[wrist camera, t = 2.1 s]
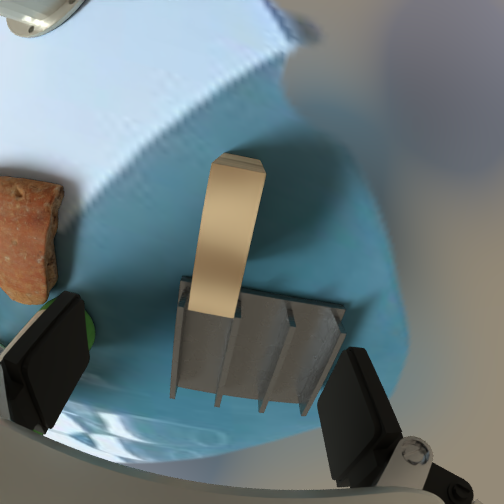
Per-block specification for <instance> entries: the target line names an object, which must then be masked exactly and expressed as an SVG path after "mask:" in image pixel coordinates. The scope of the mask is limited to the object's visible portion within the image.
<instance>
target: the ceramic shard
mask: <svg viewBox="0 0 504 504" xmlns="http://www.w3.org/2000/svg"><path fill="white" fill-rule="evenodd" d="M63 197H64V191H63V186H61V185H59V184H54V183H48V182H43V181H37V180H32V179H25V178H14V177H9V176H0V287H1V288H2V290H4V291H5V293H7V295H8V296H9V297H10V298H11V299H12V300H15V301H17V302H19V303H22V304H28V305H32V304H34V305H39V304H43V303H45V302H46V301H47V299H48V297H49V292H50V290H51V289H52V288H53V287H54V285H55V283H56V282H57V279H58V273H57V264H56V256H55V249H54V236H55V234H56V232H57V227H58V209H59V207H60V205H61V202H62V199H63Z"/></svg>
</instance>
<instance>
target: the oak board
mask: <svg viewBox="0 0 504 504" xmlns="http://www.w3.org/2000/svg"><path fill="white" fill-rule="evenodd" d="M265 177H266V172H265V170H264V168H263V165H262V163H261V161H260V160H258V159H253V158H248V157H243V156H238V155H233V154H228V153H223V154H222V155H221V156H220V157H218V158H217V159H216V160H215V161H214V162H212V165H211V170H210V175H209V180H208V186H207V191H206V197H205V202H204V208H203V214H202V220H201V226H200V232H199V238H198V244H197V250H196V257H195V263H194V270H193V277H192V284H191V291H190V298H189V306H188V310H191V311H196V312H202V313H207V314H212V315H217V316H223V317H228V318H234V314H235V310H236V305H237V301H238V296H239V292H240V287H241V283H242V279H243V274H244V270H245V265H246V261H247V256H248V252H249V248H250V243H251V239H252V234H253V230H254V225H255V221H256V217H257V212H258V208H259V203H260V199H261V195H262V190H263V186H264V181H265Z"/></svg>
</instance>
